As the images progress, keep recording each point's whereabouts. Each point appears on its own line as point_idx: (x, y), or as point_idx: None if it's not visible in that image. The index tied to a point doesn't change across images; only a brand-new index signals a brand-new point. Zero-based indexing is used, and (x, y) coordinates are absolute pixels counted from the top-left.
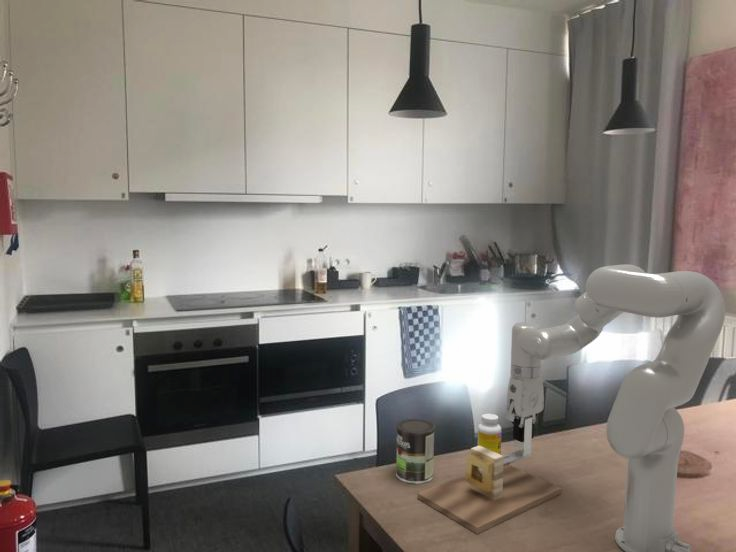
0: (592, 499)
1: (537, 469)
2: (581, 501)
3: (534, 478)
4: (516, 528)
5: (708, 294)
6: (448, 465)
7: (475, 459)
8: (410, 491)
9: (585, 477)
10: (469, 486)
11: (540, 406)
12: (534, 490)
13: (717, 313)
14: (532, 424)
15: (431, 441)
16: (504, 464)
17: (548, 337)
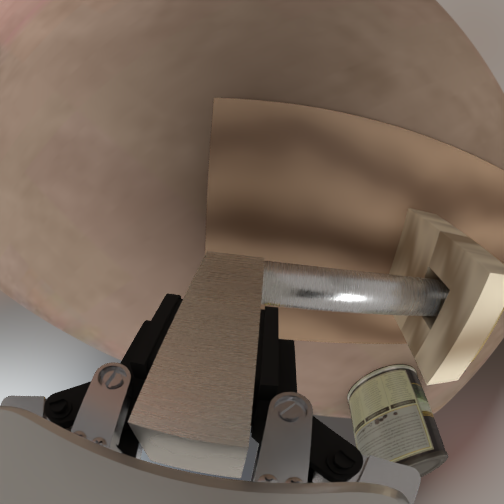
0: (178, 29)
1: (137, 242)
2: (215, 38)
3: (221, 199)
4: (471, 117)
5: None
6: (301, 384)
7: (493, 328)
8: None
9: (78, 127)
10: None
11: (7, 464)
12: (302, 151)
13: None
14: (145, 366)
15: (411, 438)
16: (386, 274)
17: None
